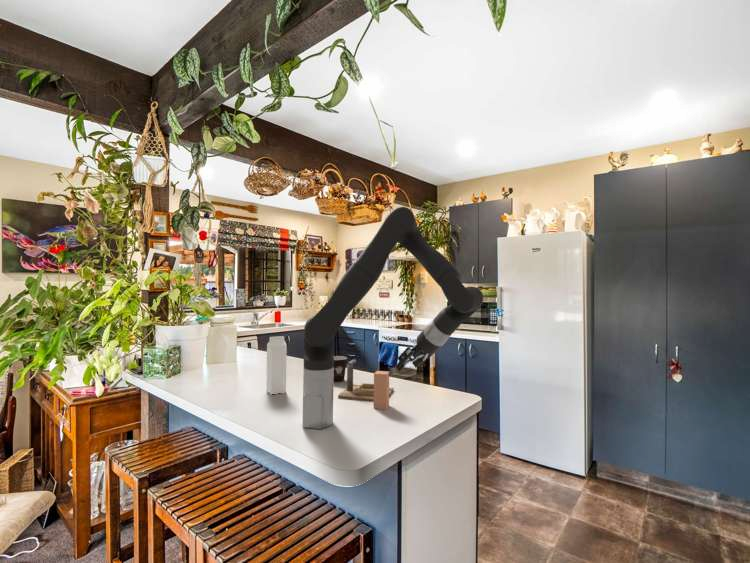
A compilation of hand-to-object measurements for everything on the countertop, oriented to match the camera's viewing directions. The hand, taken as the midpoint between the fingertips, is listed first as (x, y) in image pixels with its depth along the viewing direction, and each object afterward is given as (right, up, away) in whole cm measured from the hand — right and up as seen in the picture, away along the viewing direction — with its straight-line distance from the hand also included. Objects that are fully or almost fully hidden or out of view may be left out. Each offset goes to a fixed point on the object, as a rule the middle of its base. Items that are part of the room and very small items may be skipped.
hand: (406, 367), depth 124 cm
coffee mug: (-29, -16, +43) cm, 54 cm away
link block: (-8, -16, +8) cm, 19 cm away
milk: (-49, -16, +24) cm, 57 cm away
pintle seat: (-13, -16, +23) cm, 31 cm away
